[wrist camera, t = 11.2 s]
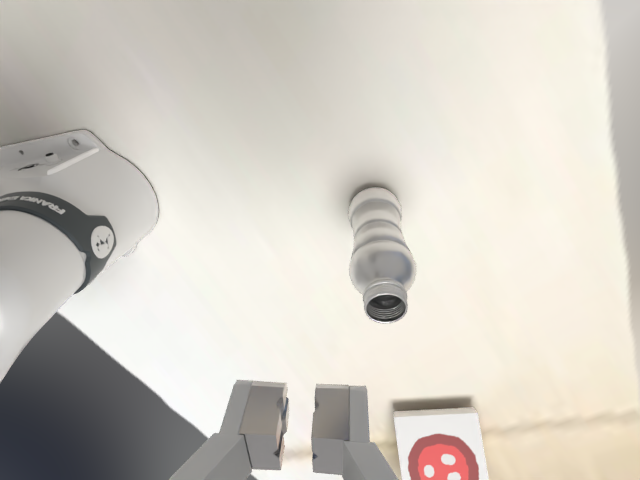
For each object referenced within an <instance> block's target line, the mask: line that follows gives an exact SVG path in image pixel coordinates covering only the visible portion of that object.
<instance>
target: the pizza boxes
mask: <svg viewBox="0 0 640 480" xmlns="http://www.w3.org/2000/svg"><path fill="white" fill-rule="evenodd" d="M394 423H395V431H396V438H397V446H398V453H399V461H400V468H401V476H402V480H489V478H488V472H487V466H486V460H485V454H484V448H483V442H482V436H481V430H480V424H479V418H478V413H477V411H476V410H475V408H474V407H467V408H448V409H430V410H411V411H394Z"/></svg>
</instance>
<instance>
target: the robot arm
mask: <svg viewBox="0 0 640 480" xmlns="http://www.w3.org/2000/svg"><path fill="white" fill-rule="evenodd" d="M76 140H77V141H78V143H79V144H78V143H77V142H76ZM158 213H159V209H158V202H157V198H156V195H155V193H154V191H153V189H152V187H151V185H150V183H149V182H148V180H147V179H146V178H145V177H144V175H143V174H142V173H141V172H140V171H139V170H138V169H137V168H136V167H135V166H134V165H132V164H131V163H130V162H128V161H127V160H126V159H124V158H122V157H121V156H119V155H117V154H115V153H114V152H112V151H110V150H109V149H108V148H106V147H105V145H104V144H103V143H102V142H101V141H100V140H99V139H98V138H97V137H96V136H95V135H93V134H92V133H91V132H89V131H87V130H77V131H73V132H68V133H63V134H58V135H54V136H49V137H44V138H40V139H35V140H30V141H25V142H21V143H16V144H11V145H6V146H2V147H0V382H1V381H2V379H3V378H4V376H5V375H6V373H7V372H8V370H9V369H10V367H11V366H12V364H13V363H14V361H15V360H16V358H17V357H18V356H19V354H20V353H21V351H22V350H23V349H24V347H25V346H26V345H27V343H28V342H29V341H30V340H31V339H32V337H33V336H34V335H35V334H36V333H37V332H38V331H39V329H40V328H41V327H42V326H43V325H44V324H45V323H46V322H47V321H48V320H49V319H50V318H51V317H52V316H53V315H54V314H55V313H56V312H57V310H58V309H59V308H60V307H61V306H62V305H63V304H64V303H65V302H66V301H67V300H68V299H69V298H70V297H71V296H72V295H73V294H76V293H78V292H80V291H81V290H83V289H84V288H85V287H86V286H87V285H89V284H90V283H91V282H92V281H93V280H94V278H95V277H96V276H97V275H99V274H101V273H102V272H103V271H105V270H106V269H107V268H108V267H109V266H111V265H112V264H113V263H114V262H115V261H117V260H118V259H119V258H120V257H121V256H124V257H125V256H129V255H130V254H131V253H132V252H133V251H134V250H135V248H136V246H137V243H138V241H139V240H141V239H142V238H144V237H145V236H146V235H148V234H149V233H150V232H151V231H152V230H153V228H154V227H155V225H156V223H157V220H158ZM286 396H287V383H280V382H264V381H250V380H237V381H236V383H235V384H234V386H233V390H232V393H231V396H230V400H229V403H228V406H227V409H226V413H225V416H224V419H223V422H222V426H221V429H220V432H219V433H214V434H213V435H212V436H211V437H210V438H209V439H208V440H207V441H206V442H205V443H204V444H203V445H202V446H201V447H200V448H199V449H198V450H197V451H196V452H195V453H194V454H193V455H192V456H191V457H190V458H189V459H188V461H186V462H185V463H184V465H182V466H181V467H180V469H178V471H176V473H175V474H174V475H173V476H172V477H171V478H170V479H169V480H246V479H247V477H248V476H249V475H250V473H251V472H252V469H263V470H281V466H282V460H283V453H284V447H285V446H284V437H283V435H284V434H285V433H286V431H287V426H288V416H289V399H288V398H287V397H286ZM311 440H312V452H313V459H312V462H313V472H316V473H326V474H337V475H342V477H343V479H344V480H398V478H397V476H396V475H395V473H394V472H393V470H392V469H391V467H390V466H389V464H388V462H387V461H386V459H385V458H384V456H383V455H382V453H381V452H380V450H379V448H378V447H377V445H376V444H375V443H374V442H370V440H369V419H368V398H367V388H366V386H349V385H335V384H316V390H315V412H314V413H313V424H312V436H311Z"/></svg>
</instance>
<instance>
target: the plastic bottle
mask: <svg viewBox="0 0 640 480" xmlns="http://www.w3.org/2000/svg"><path fill="white" fill-rule="evenodd" d="M348 217H349V221H350V224H351V227H352V229H353V234H354V246H353V252H352V257H351V261H350V267H349V275H350V278H351V281H352V283H353V285H354V286H355V288H356V289H357V290H358V291H359V292H360V293H361V294H362V295H363V301H364V309H365V313H366V315H367V316H368V317H369V318H370V319H371V320H373V321H375V322H379V323H392V322H396V321H398V320H400V319H401V318H402V317H403V316H404V315H405V314H406V312H407V306H408V305H407V291H408V290H409V289H410V287H411V286H412V284H413V282H414V279H415V275H416V263H415V261H414V258H413V256H412V254H411V252H410V250H409V248H408V247H407V245H406V243H405V240H404V237H403V235H402V232H401V217H402V209H401V205H400V203H399V201H398V200H397V198H396V197H395V196H394V194H393V193H391V192H390V191H388V190H386V189H384V188H379V187H371V188H367V189H364V190H362V191H361V192H359V193H358V194H357V195H356V196H355V197H354V198H353V200H352V202H351V204H350V207H349V211H348Z"/></svg>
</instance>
